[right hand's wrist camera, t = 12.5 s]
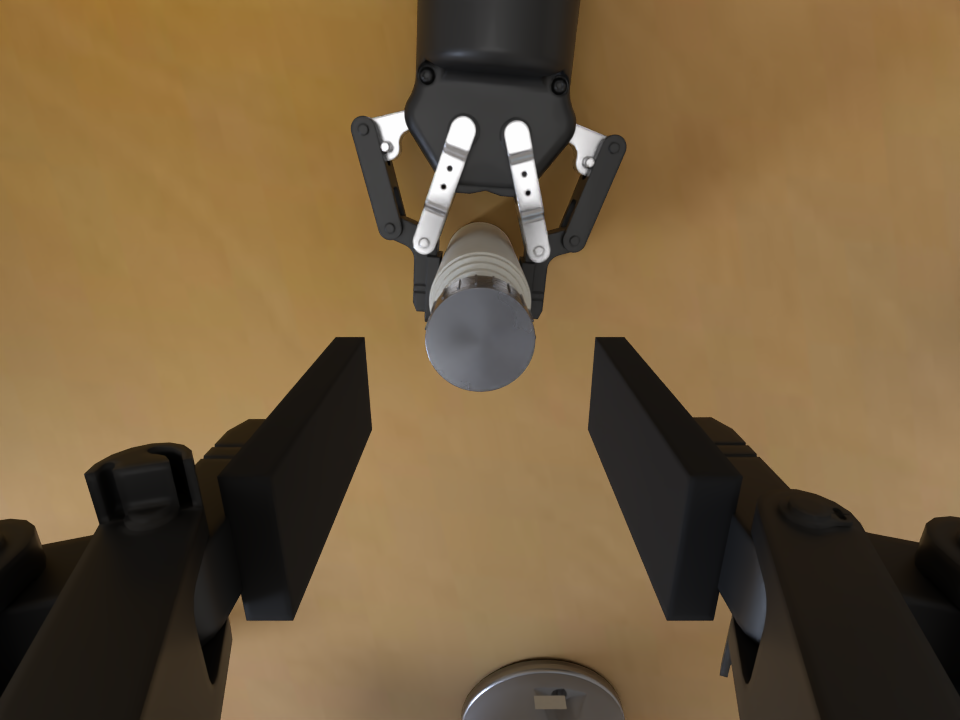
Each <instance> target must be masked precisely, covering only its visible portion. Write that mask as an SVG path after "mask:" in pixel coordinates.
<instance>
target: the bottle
mask: <svg viewBox="0 0 960 720" xmlns="http://www.w3.org/2000/svg"><path fill="white" fill-rule="evenodd" d="M475 274H477V275H481V276H491V277H492V276H495V278H498V279H500V280H502V281H505V282H506V283H508V282H509V283H510V284H511V286H512V287H513V288H514V289H516V291H517V292H518V293H519V294H522V295H523V298H524V301H525V303H526V306H527V308H528V309H531V293H530V289H529V286H528V283H527V280H526V278H525V275H524V273H523V271H522V268H521V266H520V263H519V261H518V259H517V256H516V254H515V251H514V249H513V247H512V244H511V242H510V240H509V238H508V237H507V235H506V234H505V233H504V232H503V231H502V230H501V229H500V228H498V227H497V226H495V225H493V224H490V223H485V222H474V223H470V224H468V225H465V226H463V227H462V228H460V229H459V230H458V231H457V232H456V233H455V234H454V235H453V237H452V238H451V240H450V242H449V244H448V247H447V249H446V252H445V254H444V257H443V259H442V262H441V264H440V267H439V269H438V271H437V274H436V276H435V279H434V281H433V284H432V286H431V290H430V296H429V307H430V312H431V309H432V306H433V303H434V301H437V299H438V297H439V296H440V295H441V293H442V292H443V290H444V288H445V287H446V288H447V287H448V286H450V285H451V284H453V283H454V282H456V281H458V279H459V278H460V279H463V278H466V277H470V276H475Z"/></svg>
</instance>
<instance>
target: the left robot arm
mask: <svg viewBox="0 0 960 720" xmlns="http://www.w3.org/2000/svg"><path fill="white" fill-rule="evenodd" d="M579 5H580V0H418V11H417V52H416V79H415V85H414V88H413V91H412V93H411V95H410V97H409V99H408V101H407V103H406V105H405V110H404V111H400V112H396V113H391V114H387V115H383V116H379V117H375V118H370V117H366V116H359V117H357V118H355V119H354V120H353V122H352V125H351V132H352V136H353V140H354V143H355V147H356V150H357V154H358V158H359V161H360V165H361V168H362V172H363V176H364V179H365V183H366V187H367V190H368V194H369V197H370V201H371V205H372V208H373V212H374V215H375V219H376V223H377V226H378V230H379V233H380V235H381V236H382V237H383V238H385V239H387V240H395V241H397V242H399V243H402V244H404V245H406V246H408V247H409V248H410V249H411V251H412V252H413V255H414V289H413V291H414V292H413V303H414V306H415V308H416V311H422V312H425V322H427V321H428V318H429V316H431V313H430V307H429V296H430V290H431V286H432V284H433V281H434V279H435V276H436V274H437V271H438V269H439V267H440V264H441V262H442V254H443V251H439V238H440V236H441V233H442V230H443V227H444V224H445V222H446V219H447V216H448V213H449V211H450V208H451V206H452V203H453V200H454V198H455V195H456V193H468V194H470V193H475V192H480V191H489V192H491V193H494V194H497V195H500V196H508V197H513V199H514V204H515V208H516V213H517V216H518V221H519V226H520V230H521V235H522V240H523V245H524V256H523V257H519V263H520V266H521V268H522V271H523V273H524V275H525V278H526V280H527V283H528V286H529V289H530V293H531V309H530V312H531V314H532V317H533V319H538V318H539V316H540V314H541V312H542V308H543V299H544V291H545V282H546V273H547V267H548V264H549V262H550V261H551V260H552V259H553V258H554V257H556V256H558V255H562V254H565V253H569V252H573V253H575V252H579V251H580V250H582V249H583V248H584V246H585V244H586V242H587V239H588V237H589V235H590V233H591V230H592V228H593V226H594V223H595V221H596V219H597V216H598V214H599V212H600V209H601V207H602V205H603V203H604V200H605V198H606V196H607V193H608V191H609V189H610V186H611V184H612V182H613V179H614V177H615V175H616V173H617V170H618V168H619V166H620V163H621V161H622V159H623V156H624V154H625V152H626V142H625V140H624V139H623V138H622V137H621V136H619V135H610V136H605V135H602V134H600V133H597V132H595V131H593V130H590V129H588V128H585V127H583V126H581V125H578V124H576V117H575V113H574V111H573V108H572V105H571V101H570V82H571V74H572V65H573V57H574V48H575V40H576V31H577V23H578V14H579ZM408 132H410V133H411V134H412V136H413V138H414V139H415V141H416V142H417V144H418V146H419V147H420V149H421V151H422V152H423V154H424V155H425V157H426V159H427V160H428V162H429V164H430V165H431V167H432V169H433V170H434V172H435V174H434V177H433V180H432V183H431V186H430V189H429V192H428V195H427V198H426V201H425V204H424V209H423V212H422V215H421V217H420V220H419V222H417V221H415V220H413V219H411V218H408V217H406V214H405V210H404V206H403V202H402V198H401V194H400V190H399V186H398V183H397V179H396V175H395V171H394V167H393V163H392V160H396V159H397V158H398V157H399V156H400V155H401V152H402V139H403V137H404V135H405V134H406V133H408ZM567 144H569V145H570V146H571V147H572V148H573V151H574V159H573V168H574V170H575V171H576V172H577V173H578V174H580V178H579V180H578V183H577V185H576V188H575V190H574V192H573V195H572V197H571V200H570V202H569V205H568V207H567V209H566V212H565V214H564V217H563V219H562V222H561V224H560V226H559V228H556V229H553V230H549V231H547V229H546V224H545V218H544V208H543V203H542V198H541V192H540V187H539V182H538V179H539V178H540V177H541V176H542V175H543V173H544V172H545V171H546V170H547V168H548V167H549V166H550V165H551V164H552V162H553V161H554V160H555V159H556V158H557V156H558V155H559V154H560V153H561V152H562V150H563V149H564V148H565V147H566V146H567Z"/></svg>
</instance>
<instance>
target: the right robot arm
mask: <svg viewBox="0 0 960 720" xmlns="http://www.w3.org/2000/svg"><path fill="white" fill-rule="evenodd" d="M371 431H372V423H371V411H370V399H369V386H368V374H367V362H366V350H365V337H335V339H334V340H333V341H332V342H331V343H330V345H329V346H328V347H327V348H326V349H325V350H324V352H323V353H322V354H321V355H320V356H319V357H318V359H317V360H316V361H315V362H314V363H313V364H312V366H311V367H310V368H309V369H308V370H307V372H306V373H305V374H304V375H303V376H302V377H301V379H300V380H299V381H298V382H297V383H296V384H295V386H294V387H293V388H292V389H291V390H290V391H289V393H288V394H287V395H286V396H285V397H284V399H283V400H282V401H281V402H280V403H279V404H278V406H277V407H276V408H275V409H274V410H273V411H272V413H271V414H270V415H269V416H268V417H267V418H266V419H248V420H246V421H245V422H243V423H241V424H239V425H237V426H236V427H234V428H232V429H230V430H229V431H227V432H226V433H225V434H224V435H223V436H222V437H221V439H220V440H219V441H218V442H217V443H216V444H215V447H212V448H211V449H210V450H209V451H208V452H207V453H206V454H205V455H204V459H200V460H199V461H198V463H197V464H196V465H195V464H194V459H193V455H192V450H190V449H189V448H187V447H186V446H184V445H181V444H175V443H153V444H147V445H142V446H138V447H133V448H130V449H127V450H124V451H121V452H118V453H115V454H113V455H111V456H109V457H107V458H105V459H103V460H101V461H99V462H98V463H96V464H94V465H93V466H92V467H91V468H90V469H89V470H88V471H87V472H86V473H85V474H84V476H85V479H86V482H87V485H88V489H89V492H90V495H91V498H92V501H93V505H94V508H95V511H96V514H97V518H98V521H99V526H98V528H97V530H96V531H95V533H94V535H91V536H86V537H81V538H75V539H70V540H65V541H60V542H55V543H49V544H44V545H41V542H40V539H39V536H38V534H37V531H36V528H35V526H34V525H33V524H31V523H30V522H28V521H27V520H18V519H6V520H0V720H220V719H221V712H222V705H223V699H224V692H225V685H226V679H227V672H228V665H229V659H230V652H231V645H232V633H231V627H230V622H229V618H228V616H229V614H230V612H231V610H232V609H233V607H234V605H235V603H236V602H237V600H238V598H239V596H240V594H241V596H242V601H243V606H244V610H245V615H246V620H247V621H293V620H294V617H295V615H296V612H297V610H298V608H299V605H300V603H301V600H302V598H303V595H304V593H305V591H306V588H307V586H308V583H309V581H310V578H311V576H312V574H313V571H314V569H315V566H316V564H317V562H318V559H319V557H320V554H321V552H322V549H323V547H324V545H325V542H326V540H327V537H328V535H329V532H330V530H331V528H332V525H333V523H334V520H335V518H336V515H337V513H338V511H339V508H340V506H341V503H342V501H343V499H344V496H345V494H346V491H347V489H348V486H349V484H350V482H351V479H352V477H353V474H354V472H355V469H356V467H357V465H358V462H359V460H360V457H361V455H362V452H363V450H364V448H365V445H366V443H367V440H368V438H369V436H370V433H371ZM588 431H589V433H590V436H591V438H592V440H593V443H594V445H595V448H596V450H597V452H598V455H599V457H600V460H601V462H602V465H603V467H604V469H605V472H606V474H607V477H608V479H609V482H610V484H611V486H612V489H613V491H614V494H615V496H616V499H617V501H618V503H619V506H620V508H621V511H622V513H623V515H624V518H625V520H626V523H627V525H628V528H629V530H630V532H631V535H632V537H633V540H634V542H635V545H636V547H637V549H638V552H639V554H640V557H641V559H642V562H643V564H644V566H645V569H646V571H647V574H648V576H649V578H650V581H651V583H652V586H653V588H654V591H655V593H656V595H657V598H658V600H659V603H660V605H661V608H662V610H663V612H664V615H665V617H666V620H667V621H713V620H714V615H715V610H716V606H717V601H718V596H719V592H720V593H721V595H722V597H723V599H724V601H725V602H726V604H727V606H728V608H729V609H730V611H731V613H732V618H731V622H730V627H729V631H728V636H727V640H726V645H725V649H724V654H723V658H722V663H721V670H720V676H724V677H728V673H729V668H730V665H731V664H732V671H733V677H734V684H735V691H736V697H737V704H738V710H739V717H740V720H960V518H959V517H952V516H948V517H937V518H933V519H932V520H931V521H929V522H928V523H926V525H925V528H924V531H923V534H922V536H921V539H920V542H913V541H908V540H903V539H898V538H893V537H887V536H882V535H877V534H872V533H868V532H865V530H864V529H863V527H862V525H861V523H860V522H859V521H858V520H857V519H856V518H855V517H854V516H853V515H852V513H851V512H849V511H848V510H846V509H845V508H843V507H842V506H840V505H839V504H837V503H835V502H833V501H831V500H829V499H826V498H824V497H822V496H819V495H817V494H813V493H809V492H805V491H801V490H797V489H790V488H789V487H788V486H787V485H786V484H785V483H784V482H783V481H782V480H781V479H780V478H779V477H778V476H777V475H776V474H775V472H774V471H773V470H772V469H771V468H770V467H769V466H768V465H767V464H766V463H765V462H764V461H763V460H762V459H761V458H760V457H757V454H756V453H755V452H754V451H753V450H752V449H751V448H750V447H749V446H748V445H746V442H745V441H744V440H743V439H742V438H741V437H740V436H739V435H738V434H737V433H736V432H735V431H734V430H733V429H732V428H730V427H728V426H726V425H724V424H722V423H721V422H719V421H717V420H715V419H713V418H712V417H692V416H691V415H690V414H689V413H688V411H687V410H686V409H685V408H684V407H683V406H682V404H681V403H680V402H679V401H678V400H677V399H676V397H675V396H674V395H673V394H672V393H671V391H670V390H669V389H668V388H667V387H666V386H665V384H664V383H663V382H662V381H661V380H660V379H659V377H658V376H657V375H656V374H655V373H654V372H653V370H652V369H651V368H650V367H649V366H648V364H647V363H646V362H645V361H644V360H643V359H642V357H641V356H640V355H639V354H638V353H637V352H636V350H635V349H634V348H633V347H632V346H631V345H630V343H629V342H628V341H627V340H626V339H625V337H595V350H594V362H593V374H592V386H591V399H590V411H589V423H588ZM461 720H625V718H624V714H623V710H622V706H621V703H620V699H619V697H618V695H617V693H616V692H615V690H614V688H613V687H612V686H611V685H610V684H609V683H608V682H607V681H606V680H605V679H604V678H603V677H601V676H600V675H598V674H597V673H595V672H594V671H592V670H590V669H588V668H585V667H583V666H580V665H577V664H574V663H570V662H565V661H558V660H532V661H525V662H520V663H516V664H513V665H509V666H507V667H504V668H501V669H499V670H497V671H495V672H493V673H492V674H490V675H488V676H487V677H485V678H484V679H483V680H481V681H480V682H479V683H478V684H477V685H476V686H475V687H474V688H473V689H472V691H471V692H470V693H469V695H468V697H467V698H466V700H465V703H464V705H463V709H462V716H461Z"/></svg>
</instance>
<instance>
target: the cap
mask: <svg viewBox="0 0 960 720" xmlns="http://www.w3.org/2000/svg"><path fill="white" fill-rule="evenodd" d="M430 313H431V316H429V318H428V321H427V324H426V327H425V330H426V335H425V344H426V350H427V354H428V357H429V359H430V361H431V363H432V365H433V367H434V368H435V370H436V371H437V372H438V373H439V374H440V375H441V376H442V377H443V378H444V379H445V380H446V381H448V382H449V383H451V384H453V385H454V386H457V387H459V388H462V389H465V390H469V391H476V392H484V391H491V390H496V389H499V388H502V387H504V386H506V385H508V384H510V383H511V382H513V381H514V380H515V379H517V378H518V377H519V376H520V375H521V374H522V373H523V372H524V370H525V369H526V368H527V366H528V364H529V363H530V361H531V358H532V356H533V353H534V348H535V339H536V336H535V331H534V326H533V323H532V322H534V320H533V317H532V314H531V312H530V309H528V308H527V306H526V303H525V301H524V298H523V295H522V294H519V293H518V292H517V291H516V289H514V288H513V287H512V286H511V284H510V283H509V282H508V283H506V282H505V281H502V280H500V279H498V278H495V276H492V277H491V276H481V275H477V274H475V276H470V277H466V278H463V279H460V278H459V279H458V281H456V282H454V283H453V284H451V285H450V286H448V287H447V288H446V287H445V288H444V290H443V292H442V293H441V295H440V296H439V297H438V299H437V301H434V303H433V306H432V309H431V312H430Z"/></svg>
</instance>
